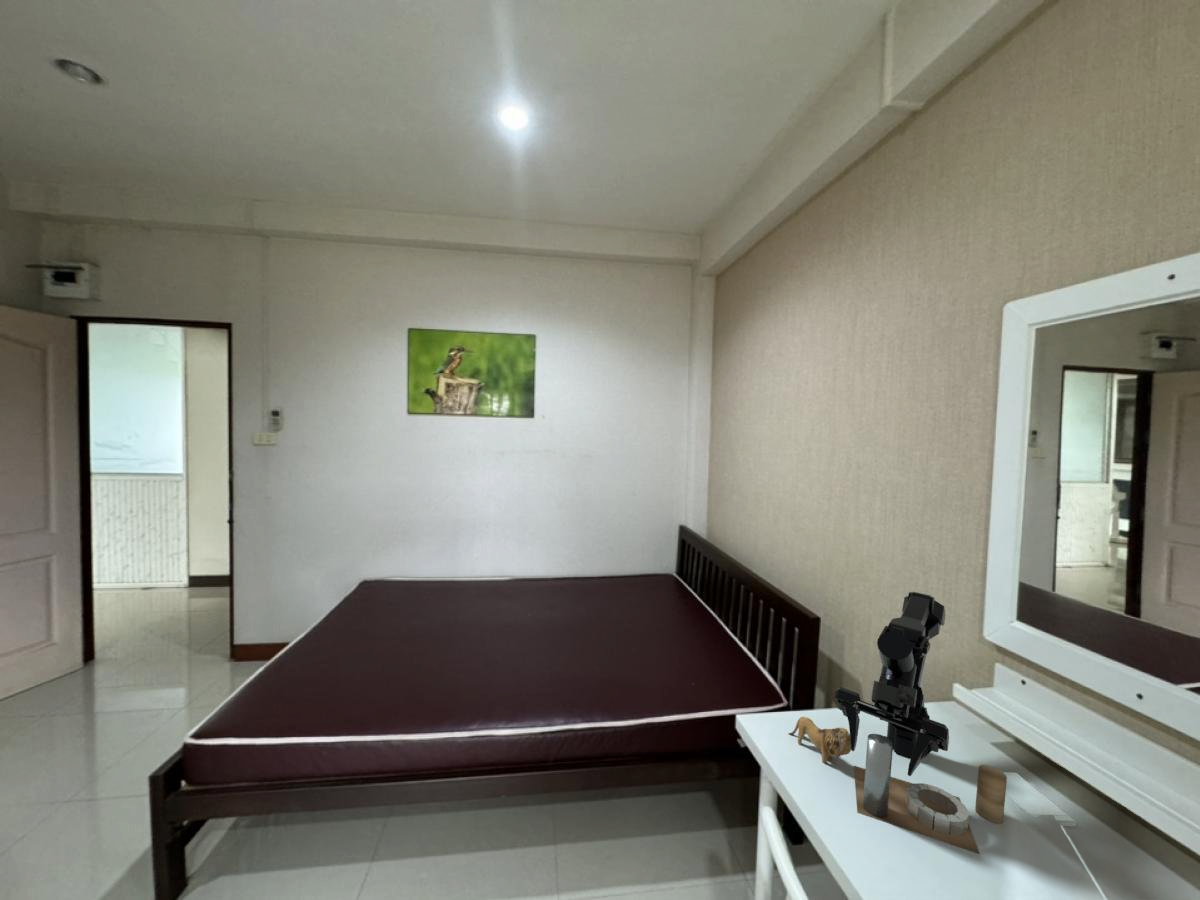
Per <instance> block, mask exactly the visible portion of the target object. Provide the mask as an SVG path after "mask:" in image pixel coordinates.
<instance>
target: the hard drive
mask: <svg viewBox="0 0 1200 900" xmlns="http://www.w3.org/2000/svg"><path fill="white" fill-rule="evenodd" d="M1002 772H1003V773H1004V774H1005V775H1006V777H1007V782H1006V794H1005V795H1007V796H1008V797H1009V798H1010V799H1011V800H1012V801H1014V802H1015V803H1016V804H1017V805H1018V806H1020V808H1022V809H1023V810H1024V811H1025V812H1026V813H1027V814H1028V815H1031V816H1032V817H1036V818H1038V817H1040V816H1041V815H1044V816H1053V817H1054V819H1055V821H1056V822H1057V823H1058V825H1059V827H1076V826H1077V821H1075V820H1074V819H1073V818H1071V817H1070V816H1069V814H1067V813H1066V812H1064V810H1062V809H1061V808H1060V807H1058V806H1057V805H1056V804H1055V803H1053V802H1052V801H1051V800H1050V799H1049V798H1047V797H1046V796H1045V795H1044V794H1042V792H1040V791H1037V789H1035V788H1034V787H1033V786H1032V785H1031V784H1030V783H1029V782H1028V781H1027V780H1026V779H1025V778H1023V777H1022V776H1021V775H1019V774H1018V773H1017V772H1014V771H1013V772H1010V771H1002Z"/></svg>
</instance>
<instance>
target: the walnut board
mask: <svg viewBox="0 0 1200 900" xmlns="http://www.w3.org/2000/svg"><path fill="white" fill-rule="evenodd" d="M853 774H854V786H855V798H856V811H857V812H856V813H857V814H861V815H863V816H866V817H869V818H872V819H875V820H878V821H880V822H883V823H886V824H889V825H891V826H895V827H899V828H902V829H905V830H907V831H910V832H912V833H917V834H919V835H922V836H925V837H928V838H931V839H934V840H937V841H940V842H943V843H946V844H949V845H951V846H954V847H957V848H960V849H963V850H966V851H969V852H971V853H972V852H973V853H974V854H978V855H980V854H981V853H980V850H979V848H978V845H977V842H976V839H975V837H974V835H973V832H972V829H971V827H970V823H969V822H968V830H967V831H966V832H965V833H964V834H963V835H962V836H950V835H949V836H948V835H945V834H942V833H939V832H936V831H934V830H932V829H930V828H928V827H927V826H925V825H924V824H922V823H920V822H919V821H918V820H916V818H915V817H914V816H913V815H912V814H911V813H910V812H909V811H908V808H907V804H906V796H907V788H908V787H909V786H910V785H912V784H914V783H913V782H909V781H907V780H903V779H900V778H896V777H894V776H893V777H892V776H891V778H890V791H889V804H888V815H887V817H885V818H878V817H875V816H873V815H871V814H869V813H868V812H867V811H866V810H865V809H864V807H863V794H864V781H865V768H864V767H860V766H857V765H853ZM953 796H954V797H956V798H957V799H958V800H959V801H960V802H961V799H960V796H959V797H958V796H956V795H953ZM922 803H923V804H924V805H925V806H927V807H928V808H930V809H932V810H933V811H935V812H938V813H941V814H945V815H951V814H950V813H949V812H948V811H947V810H945V809H943V808H942V807H940V806H938V805H935V804H932V803H929V802H922ZM961 803H962V802H961Z"/></svg>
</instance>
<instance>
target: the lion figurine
mask: <svg viewBox="0 0 1200 900" xmlns="http://www.w3.org/2000/svg"><path fill="white" fill-rule="evenodd" d="M797 731H798V733H797ZM796 733H797V736H798V739H797V744H798V746H802V742H803V739H804V737H805V735H807V737H808V739H809V740H810V742H811V743H812V744H813V745H814V746H815V747H817V748H818V749H820V751H821V762H822V764H824V765H827V764H828V760H832V759H833V758H835V759H837V758H839V757H841V756H845V755H846V756H847V755H848V754H850V753H851V751H852V750H851V741H850V732H849V730H848V729H847V728H844V727H836V728H823V729H821V728H820V727H819V726H817V725H816V723H814V722H813V720H812V719H811V718H809V717H807V716H800V717H799V719H798V720H797V721H796V724H795V728H794V730H793V731H791V732H788V733H787V734H788V735H789V736H792V737H793V736H794V735H795V734H796Z"/></svg>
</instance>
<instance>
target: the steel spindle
mask: <svg viewBox="0 0 1200 900" xmlns="http://www.w3.org/2000/svg"><path fill="white" fill-rule="evenodd" d="M884 736H885V735H882V734H879V733H870V734H868V735H867V741H866V757H865V768H864V769H865V781H864V794H863V807H864V809H865V810H866V811H867V812H868V813H869V814H871V815H873V816H875V817H878V818H885V817H887V815H888V804H889V791H890V778H891V777H892V765H893V764H892V763H893V752H894V750H893V743H892V741H891V740H889V739H888V738H886V737H884Z"/></svg>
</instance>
